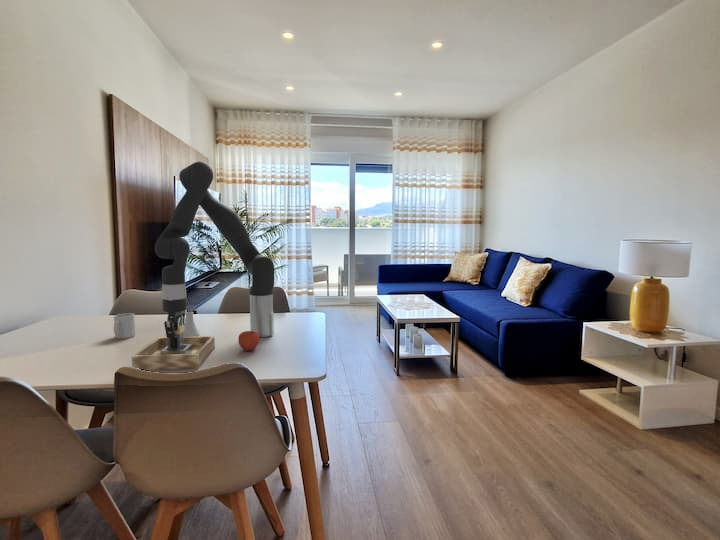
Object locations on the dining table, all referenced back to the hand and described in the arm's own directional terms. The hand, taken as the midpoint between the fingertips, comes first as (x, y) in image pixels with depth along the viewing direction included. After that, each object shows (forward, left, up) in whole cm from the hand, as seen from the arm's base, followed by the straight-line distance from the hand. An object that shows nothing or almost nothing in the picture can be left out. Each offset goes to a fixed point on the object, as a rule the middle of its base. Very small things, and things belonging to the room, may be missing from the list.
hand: (176, 345), depth 141 cm
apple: (-23, -7, -5) cm, 25 cm away
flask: (+4, -28, -5) cm, 29 cm away
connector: (0, 0, -1) cm, 1 cm away
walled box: (0, 0, -4) cm, 4 cm away
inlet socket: (0, 0, -4) cm, 4 cm away
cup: (+30, -28, -5) cm, 41 cm away
